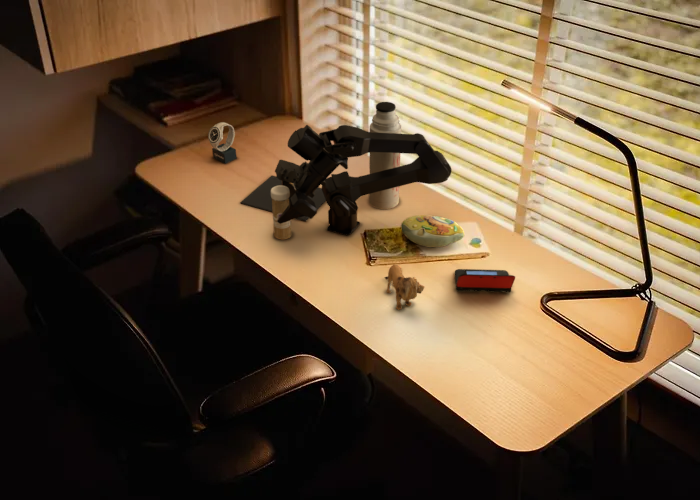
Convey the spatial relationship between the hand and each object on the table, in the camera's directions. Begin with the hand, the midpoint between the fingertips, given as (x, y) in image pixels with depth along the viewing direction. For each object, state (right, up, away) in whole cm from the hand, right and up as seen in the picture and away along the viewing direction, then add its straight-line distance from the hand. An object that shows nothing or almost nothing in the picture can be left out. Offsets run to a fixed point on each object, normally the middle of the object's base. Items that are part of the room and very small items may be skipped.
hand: (276, 213), depth 195 cm
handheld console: (+49, -18, -14) cm, 54 cm away
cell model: (+38, -6, +2) cm, 39 cm away
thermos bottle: (+27, +4, +17) cm, 33 cm away
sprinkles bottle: (+1, -5, +4) cm, 7 cm away
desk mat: (+1, +5, +19) cm, 19 cm away
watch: (-19, +18, +37) cm, 45 cm away
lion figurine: (+30, -20, -17) cm, 40 cm away
